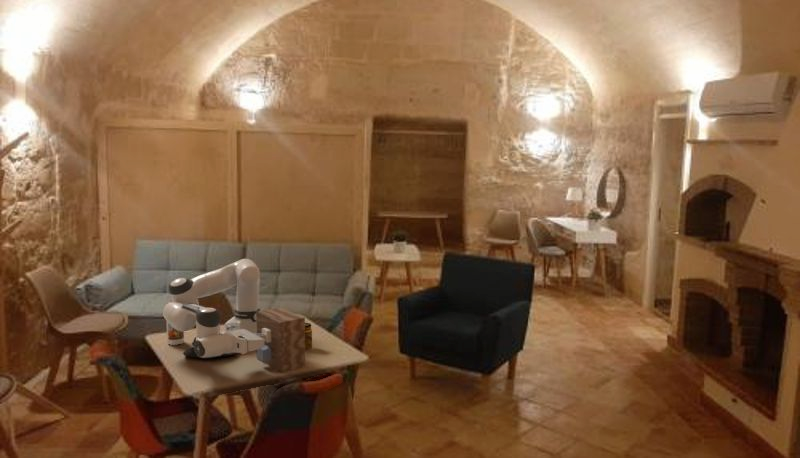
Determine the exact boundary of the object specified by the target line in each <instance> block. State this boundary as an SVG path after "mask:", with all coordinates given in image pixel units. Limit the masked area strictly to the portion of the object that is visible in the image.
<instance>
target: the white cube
mask: <svg viewBox="0 0 800 458" xmlns="http://www.w3.org/2000/svg"><path fill="white" fill-rule="evenodd" d="M262 333H263V334H265V335H266V338H265V339H264V340H265V342H271V330H270V329H268V328H263V329H262Z"/></svg>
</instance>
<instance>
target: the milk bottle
mask: <svg viewBox="0 0 800 458" xmlns="http://www.w3.org/2000/svg"><path fill="white" fill-rule="evenodd" d="M184 333H185V331H178V330H176V329H175V328H173V327H172V326H171V325H170V324H169V323H168V322H167V321H166V342H167V345H168V344H170V345H169V346H178V344H180V345H182V344H184V342H185V334H184Z"/></svg>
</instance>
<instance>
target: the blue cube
mask: <svg viewBox="0 0 800 458" xmlns="http://www.w3.org/2000/svg"><path fill="white" fill-rule="evenodd" d="M258 359H260V360H262V361H267V360H271V359H272V349H271V347H269V346H267V345H266V346H264V347H263V348H261V349H258ZM258 359H257V360H258ZM260 360H259V361H260ZM262 361H261V362H262Z"/></svg>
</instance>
